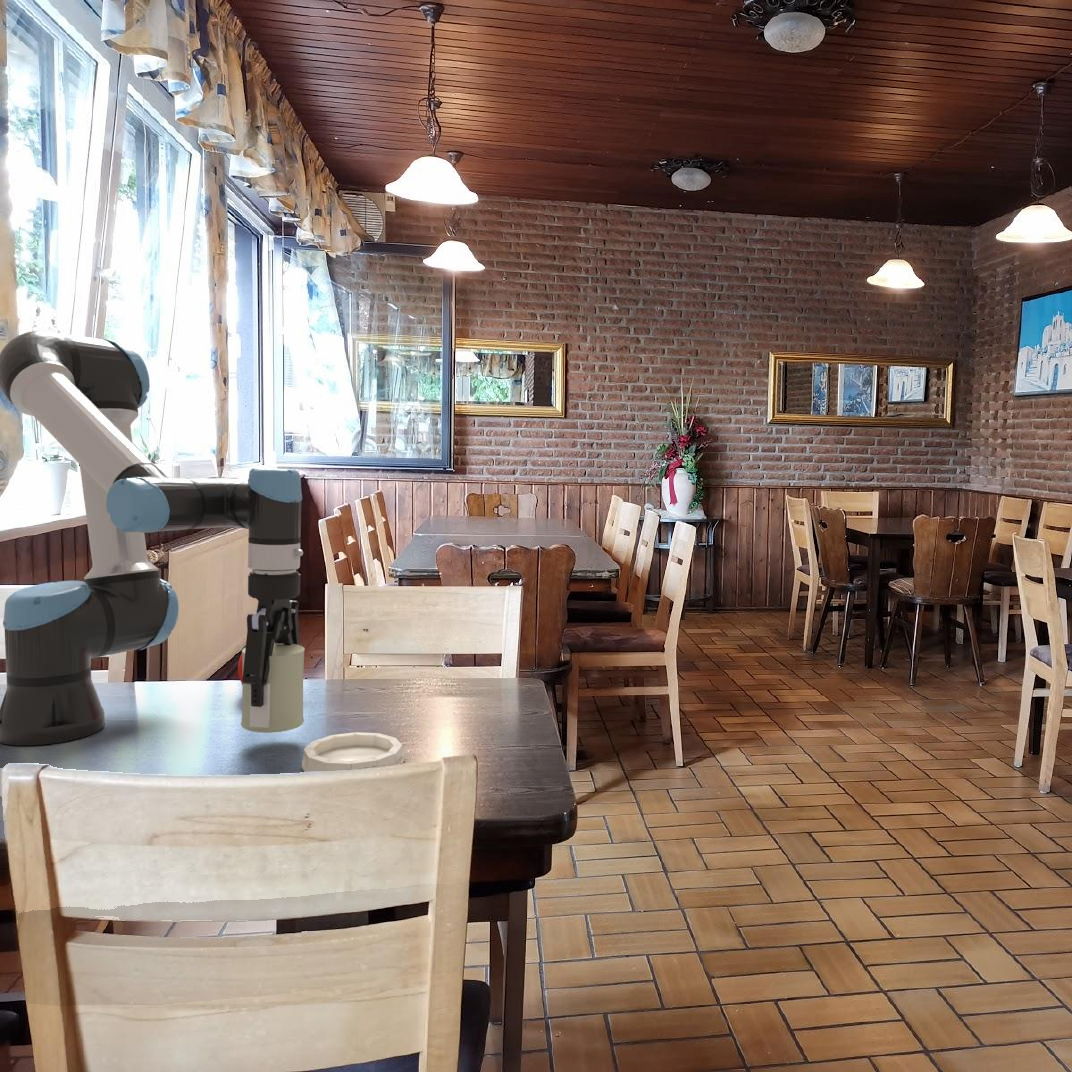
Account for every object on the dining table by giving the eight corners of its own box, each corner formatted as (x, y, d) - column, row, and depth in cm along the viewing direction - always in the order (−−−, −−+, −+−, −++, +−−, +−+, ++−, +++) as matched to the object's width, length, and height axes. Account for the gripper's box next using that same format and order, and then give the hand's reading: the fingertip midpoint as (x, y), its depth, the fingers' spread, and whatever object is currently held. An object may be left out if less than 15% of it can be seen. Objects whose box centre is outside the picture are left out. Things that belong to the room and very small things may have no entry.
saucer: (285, 779, 114) (285, 761, 114) (322, 745, 128) (322, 729, 128) (389, 784, 113) (389, 766, 113) (414, 749, 127) (414, 733, 127)
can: (310, 714, 133) (311, 640, 132) (295, 733, 124) (296, 654, 122) (251, 712, 132) (252, 638, 131) (232, 732, 123) (233, 652, 122)
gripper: (269, 582, 115) (267, 741, 117) (323, 563, 136) (321, 698, 138) (216, 579, 115) (215, 738, 118) (278, 561, 137) (277, 695, 139)
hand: (272, 716), depth 128 cm, fingers closed on can, 9 cm apart
